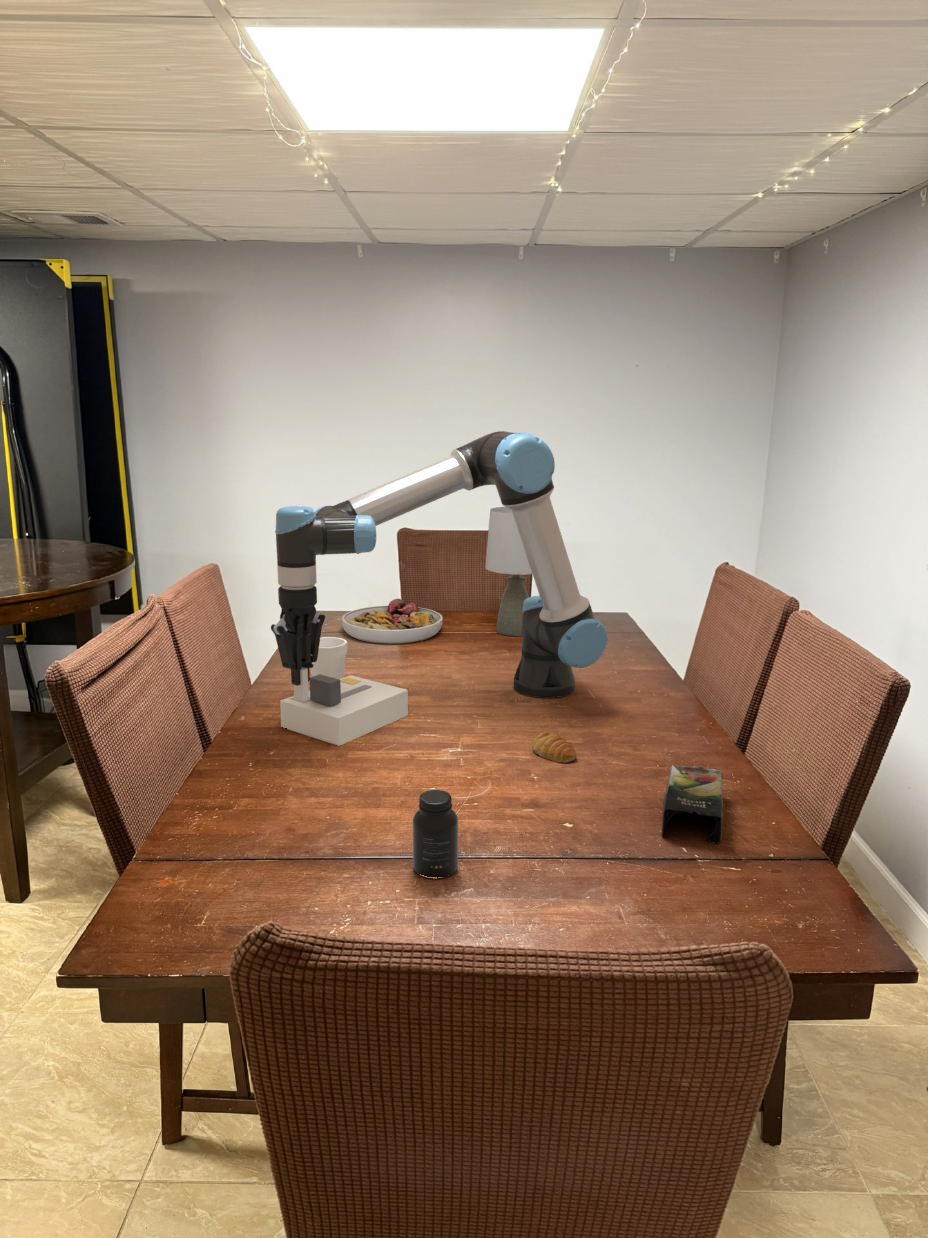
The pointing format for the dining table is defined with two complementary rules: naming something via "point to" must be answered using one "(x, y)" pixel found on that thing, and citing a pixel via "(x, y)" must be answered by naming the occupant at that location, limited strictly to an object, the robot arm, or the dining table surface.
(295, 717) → the switch panel
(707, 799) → the juice carton
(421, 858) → the supplement bottle
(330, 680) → the knob
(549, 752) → the pastry
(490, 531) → the lamp
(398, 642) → the bowl
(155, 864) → the dining table surface
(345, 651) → the foam cup
